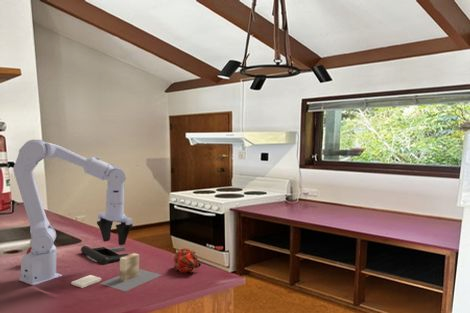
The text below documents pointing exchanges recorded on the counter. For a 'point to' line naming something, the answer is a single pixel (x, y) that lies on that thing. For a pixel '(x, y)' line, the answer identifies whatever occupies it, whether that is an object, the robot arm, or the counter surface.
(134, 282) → the mat
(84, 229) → the counter surface
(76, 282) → the tile
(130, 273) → the light wooden block
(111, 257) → the door handle
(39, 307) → the counter surface
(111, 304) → the counter surface
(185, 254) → the dragon fruit
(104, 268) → the counter surface
